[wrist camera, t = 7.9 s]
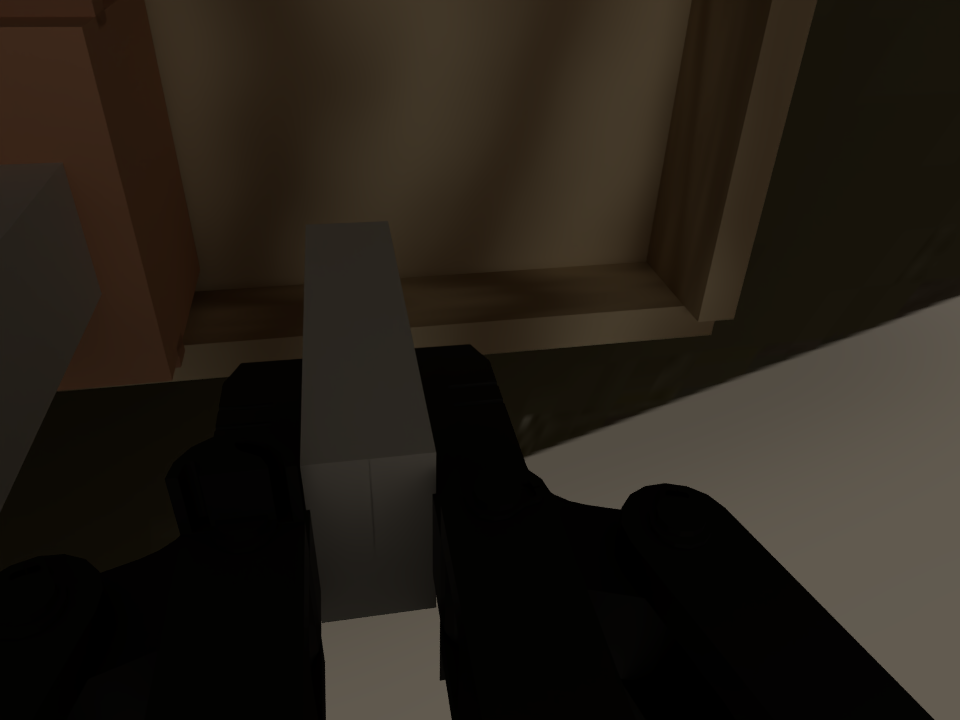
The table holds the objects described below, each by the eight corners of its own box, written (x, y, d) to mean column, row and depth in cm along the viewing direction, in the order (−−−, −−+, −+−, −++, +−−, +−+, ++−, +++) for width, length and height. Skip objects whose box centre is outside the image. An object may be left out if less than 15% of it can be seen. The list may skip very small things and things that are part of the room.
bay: (-368, 352, 22) (-523, 465, 17) (-735, -138, 15) (-1123, -139, 11) (662, 279, 27) (725, 350, 23) (734, -96, 21) (839, -86, 17)
